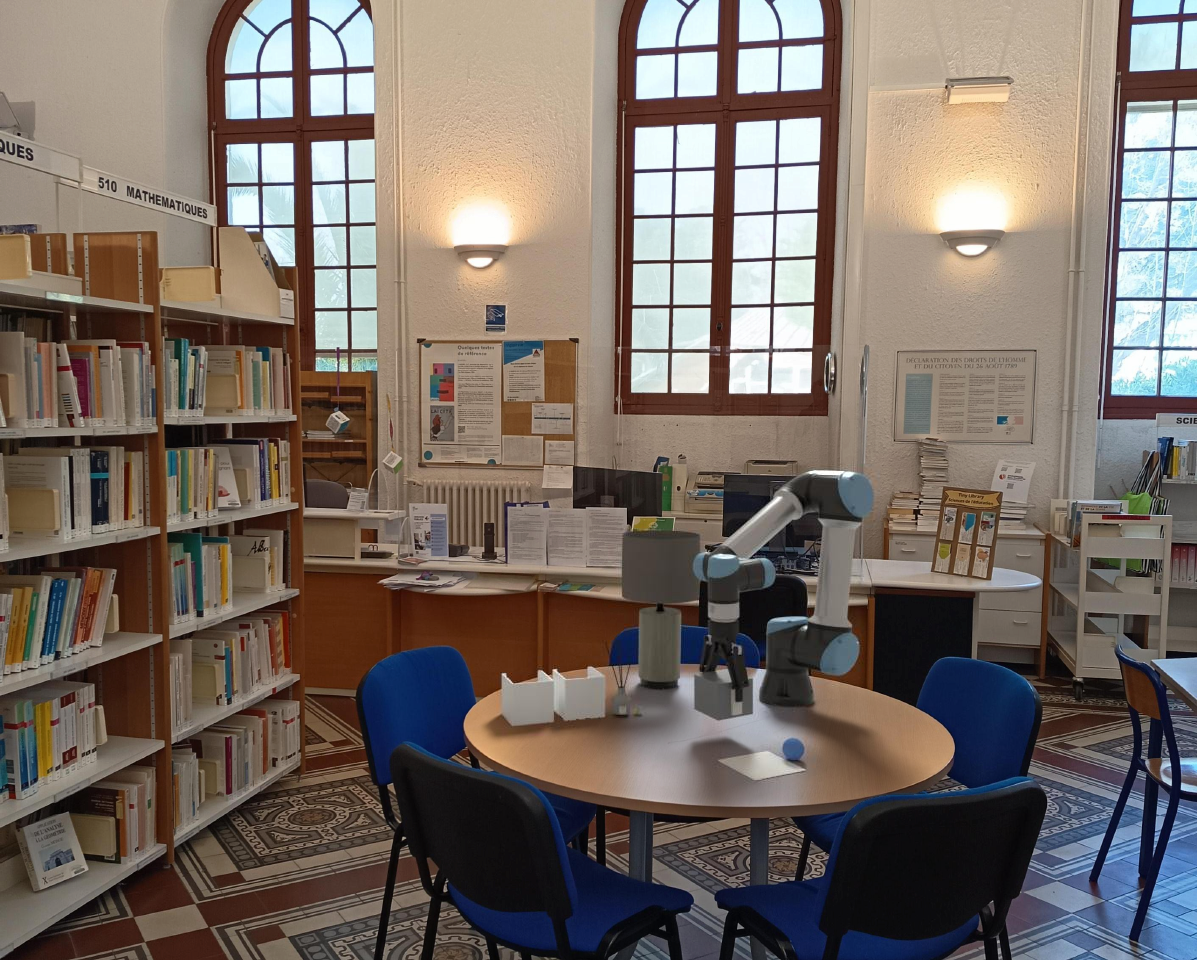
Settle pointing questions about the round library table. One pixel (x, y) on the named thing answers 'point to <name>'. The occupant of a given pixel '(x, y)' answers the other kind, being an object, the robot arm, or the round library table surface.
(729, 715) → the block
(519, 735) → the round library table surface
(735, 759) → the white flat square plate
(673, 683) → the lamp
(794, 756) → the ball
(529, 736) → the round library table surface
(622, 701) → the reed diffuser
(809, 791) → the round library table surface
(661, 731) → the round library table surface
